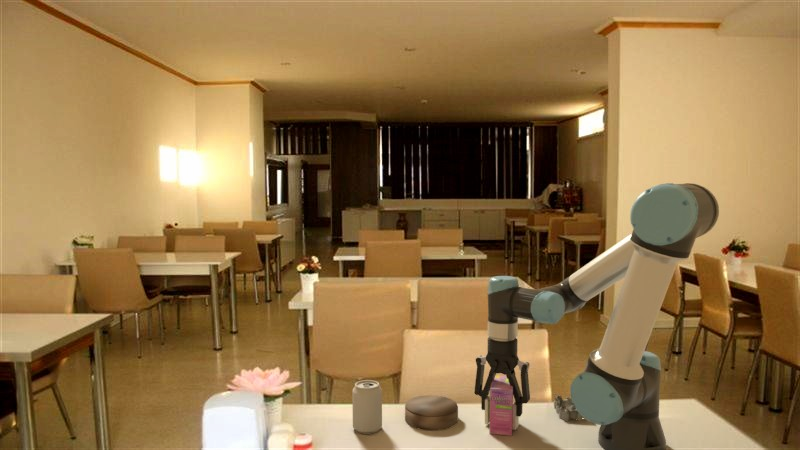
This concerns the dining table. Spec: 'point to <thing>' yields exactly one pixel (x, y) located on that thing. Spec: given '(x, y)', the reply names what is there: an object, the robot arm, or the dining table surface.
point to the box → (501, 406)
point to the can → (367, 406)
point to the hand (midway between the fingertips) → (501, 424)
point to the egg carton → (569, 408)
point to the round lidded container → (431, 413)
